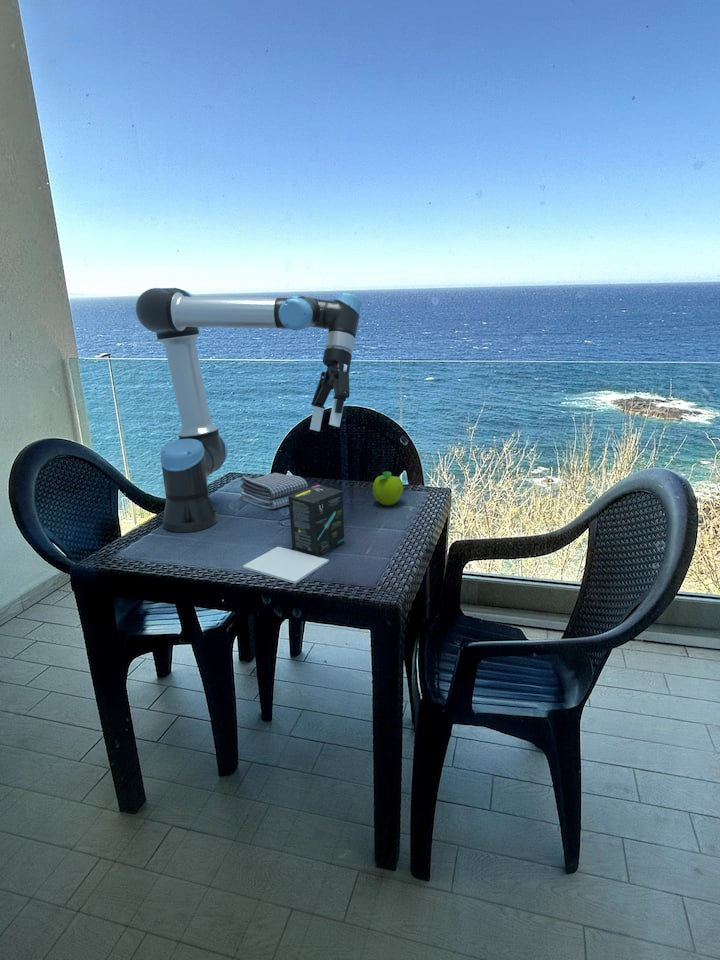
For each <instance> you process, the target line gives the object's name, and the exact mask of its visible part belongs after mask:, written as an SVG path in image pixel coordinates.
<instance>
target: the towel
mask: <svg viewBox="0 0 720 960" xmlns="http://www.w3.org/2000/svg"><path fill="white" fill-rule="evenodd" d="M240 481H242V483H241V485H240V488H241V489H243V491H241V492H240V495H239V497H238V498H239V500H240V501H242V500H243V501H242V502H246V503H247V504H251V505H253V506H256V507H259V508H262V509H265V510H273V509H274V510H275V509H278V508H282V507H286V506H289V500H288V496H289V495H292V494H294V493H297V492H300V491H302V490H305V489H308V488H310V487H309V486H310V485H309V483H308V482H307V480H305V478H303V477H301V476H298V475H294V474H292V475H291V474H289V475H288V474H283V473H280V472H273V473H269V474H265V475H262V476H259V477H255V478H252V477H250V476H242V477H241V478H240Z"/></svg>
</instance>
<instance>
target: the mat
mask: <svg viewBox="0 0 720 960" xmlns="http://www.w3.org/2000/svg"><path fill="white" fill-rule="evenodd" d="M329 562H330V560H329V559H327V558H325V557H321V556H319V557H316V556H313V555H310V554H308V553H305V552H302V551H298V550H292V549H289V548H285V547H282V546H276V547H274V548H272V549H271V550H268V551H267V552H265V553H264V554H262V555H260V556H258V557H256V558H255V559H253V560H250V561H249V562H247V563H245V564H244V565H242V569H245V570H247V571H252V572H254V573H257V574H262V575H265V576H267V577H272V578H274V579H278V580H281V581H285V582H288V583H292V584H295V585H296V584H298V583H299V582H301V581H302V580H303V579H305V578H306V577H308V576H310V575H311V574H313V573H314V572H316V571H318V570H319V569H320V568H322V567H324V566H325V565H327V564H329Z"/></svg>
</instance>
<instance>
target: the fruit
mask: <svg viewBox="0 0 720 960" xmlns="http://www.w3.org/2000/svg"><path fill="white" fill-rule="evenodd" d="M403 492H404V483H403V481H402V479H401V478H400V477H399V476H394V475H392V472H391V471H383V472H382V475H379V476H377V477H376V478H375V480H374V481H373V484H372V495H373V498H374V499H375V500H376V501H377V502H379V503H380V504H382V505H383V506H392V505H395V504H396V503H397V502H398V501H399V499H400V498H401V496H402V495H403Z"/></svg>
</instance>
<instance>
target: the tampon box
mask: <svg viewBox="0 0 720 960" xmlns="http://www.w3.org/2000/svg"><path fill="white" fill-rule="evenodd" d="M288 500H289V504H288V508H289V509H288V511H289V512H288V513H289V523H290V524H289V525H290V534H291V535H290V536H291V537H290V538H291V548H292V549H294V550H296V551H298V552H301V553H305V554H309V555H313V556H316V557H321V556H322V555H324V554H326V553H328V552H330V551H332V550H334V549H336V548H338V547H340V546H342V545H343V544H344V545H345V521H344V519H345V518H344V491H343V490H342V489H341V490H340V489H336V488H333V487H328V486H325V485H324V486H323V485H321V484H316V485H313V486H311V487H308V488H307V489H305V490H302V491H300V492H297V493H294V494H292V495H289V496H288Z"/></svg>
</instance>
